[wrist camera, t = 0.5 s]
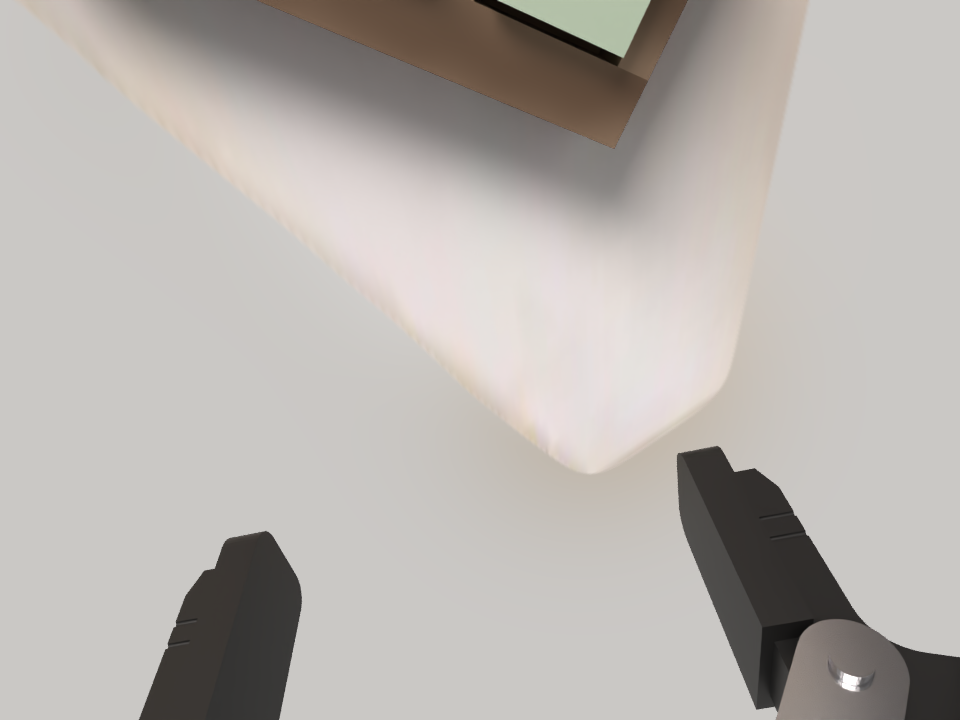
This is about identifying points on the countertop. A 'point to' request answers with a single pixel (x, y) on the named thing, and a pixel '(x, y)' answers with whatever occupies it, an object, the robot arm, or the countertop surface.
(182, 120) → the countertop surface
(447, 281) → the countertop surface
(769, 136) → the countertop surface
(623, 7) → the sage key
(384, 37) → the wooden compartment tray
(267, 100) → the countertop surface
